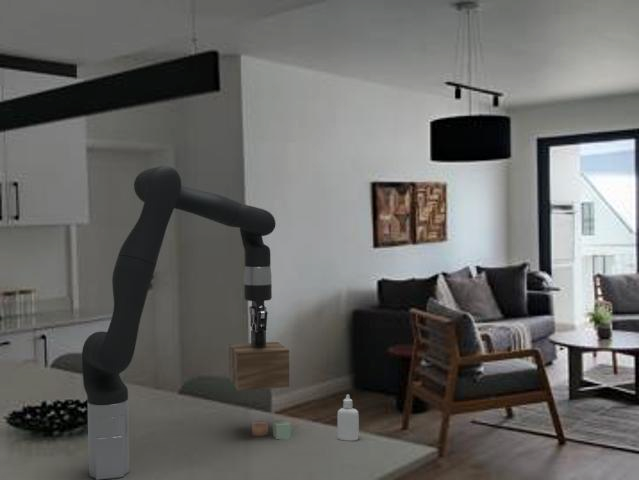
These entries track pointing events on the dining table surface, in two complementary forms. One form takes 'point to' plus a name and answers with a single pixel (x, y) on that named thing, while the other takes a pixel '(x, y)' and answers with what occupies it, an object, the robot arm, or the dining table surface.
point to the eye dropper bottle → (348, 421)
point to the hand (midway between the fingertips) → (258, 344)
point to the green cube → (281, 429)
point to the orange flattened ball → (259, 428)
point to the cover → (258, 365)
